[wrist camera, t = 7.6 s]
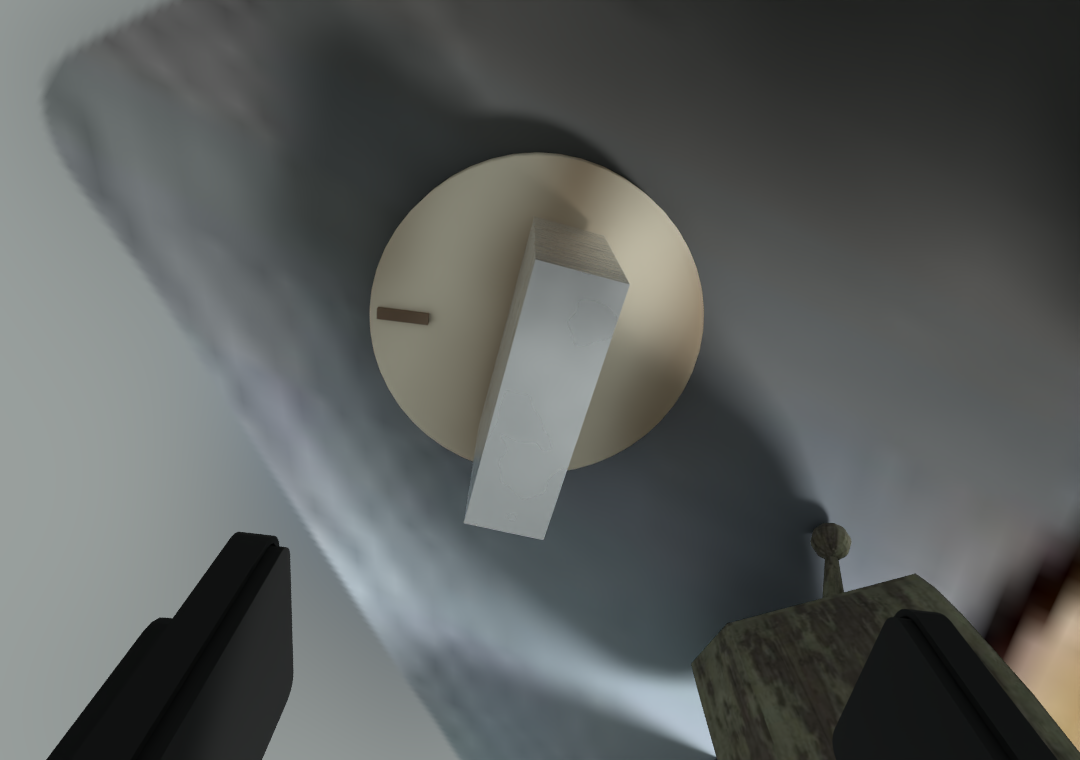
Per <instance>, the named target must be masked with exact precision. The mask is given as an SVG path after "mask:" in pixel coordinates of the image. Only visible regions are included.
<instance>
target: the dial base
mask: <svg viewBox="0 0 1080 760" xmlns="http://www.w3.org/2000/svg"><path fill="white" fill-rule="evenodd" d="M534 216H535V217H538V218H542V219H546V220H549V221H553V222H557V223H560V224H564V225H568V226H571V227H575V228H578V229H582V230H586V231H589V232H593V233H597V234H600V235H604V237H605V238H606V240H607V242H608V244H609V246H610V248H611V250H612V252H613V254H614V255H615V257H616V259H617V261H618V263H619V265H620V267H621V269H622V271H623V272H624V274H625V276H626V278H627V280H628V282H629V284H630V286H629V289H628V292H627V295H626V298H625V301H624V303H623V306H622V309H621V312H620V315H619V318H618V321H617V324H616V327H615V330H614V333H613V336H612V339H611V342H610V345H609V348H608V351H607V354H606V357H605V360H604V363H603V366H602V369H601V372H600V374H599V377H598V380H597V383H596V386H595V389H594V392H593V395H592V398H591V401H590V404H589V407H588V410H587V413H586V416H585V419H584V422H583V425H582V428H581V431H580V434H579V437H578V440H577V443H576V445H575V448H574V451H573V454H572V457H571V460H570V463H569V466H568V469H567V471H568V470H573V469H578V468H581V467H585V466H588V465H592V464H595V463H597V462H600V461H602V460H604V459H607V458H609V457H612V456H614V455H615V454H617V453H619V452H621V451H623V450H624V449H626V448H628V447H630V446H631V445H632V444H634V443H635V442H637V441H638V440H639V439H641V438H642V437H643V436H645V435H646V434H647V433H648V432H649V431H650V430H652V429H653V428H654V427H655V426H656V425H657V424H658V423H659V422H660V421H661V420H662V419H663V418H664V416H665V415H666V414H667V413H668V412H669V410H670V409H671V408H672V407H673V406H674V404H675V403H676V401H677V399H678V398H679V396H680V395H681V393H682V392H683V390H684V389H685V386H686V384H687V382H688V380H689V378H690V376H691V374H692V372H693V369H694V366H695V363H696V360H697V357H698V354H699V350H700V345H701V339H702V334H703V319H704V307H703V296H702V288H701V284H700V280H699V275H698V271H697V268H696V265H695V263H694V260H693V258H692V255H691V253H690V250H689V248H688V246H687V244H686V243H685V241H684V239H683V237H682V236H681V234H680V232H679V230H678V229H677V228H676V226H675V225H674V224H673V222H672V221H671V220H670V218H669V217H668V216H667V215H666V213H665V212H664V211H663V210H662V209H661V208H660V207H659V206H658V205H657V204H656V203H655V202H654V201H653V200H652V199H651V198H650V197H649V196H647V195H646V194H645V193H644V192H643V191H642V190H640V189H639V188H638V187H636V186H635V185H634V184H632V183H631V182H629V181H628V180H627V179H625V178H624V177H622V176H620V175H619V174H617V173H615V172H613V171H611V170H609V169H607V168H606V167H604V166H601V165H598V164H596V163H593V162H590V161H587V160H585V159H582V158H577V157H572V156H568V155H563V154H555V153H542V152H532V153H517V154H511V155H506V156H501V157H496V158H492V159H489V160H486V161H483V162H480V163H478V164H475V165H472V166H470V167H468V168H466V169H464V170H462V171H460V172H458V173H456V174H455V175H453V176H451V177H449V178H448V179H447V180H445V181H444V182H442V183H441V184H440V185H438V186H437V187H435V188H434V189H433V190H432V191H431V192H430V193H429V194H428V195H427V196H425V197H424V198H423V199H422V200H421V201H420V202H419V203H418V204H417V205H416V206H415V207H414V208H413V209H412V210H411V211H410V212H409V213H408V215H407V216H406V217H405V218H404V220H403V221H402V222H401V223H400V225H399V226H398V227H397V229H396V230H395V232H394V234H393V235H392V237H391V239H390V240H389V242H388V244H387V246H386V247H385V249H384V252H383V254H382V257H381V259H380V262H379V264H378V267H377V270H376V274H375V278H374V282H373V286H372V290H371V300H370V310H369V313H370V333H371V339H372V344H373V350H374V354H375V357H376V360H377V363H378V366H379V369H380V372H381V374H382V376H383V378H384V381H385V383H386V385H387V387H388V389H389V391H390V392H391V394H392V395H393V397H394V398H395V400H396V401H397V403H398V405H399V406H400V407H401V409H402V410H403V411H404V412H405V413H406V414H407V416H408V417H409V418H410V419H411V420H412V422H413V423H415V424H416V425H417V426H418V427H419V428H420V429H421V430H422V431H423V432H424V433H425V434H426V435H428V436H429V437H430V438H432V439H433V440H434V441H436V442H437V443H439V444H440V445H441V446H443V447H444V448H446V449H448V450H450V451H452V452H453V453H455V454H457V455H459V456H461V457H463V458H465V459H468V460H470V461H473V459H474V453H475V447H476V440H477V434H478V427H479V423H480V419H481V415H482V411H483V407H484V404H485V400H486V396H487V392H488V389H489V385H490V381H491V377H492V373H493V370H494V366H495V362H496V358H497V354H498V351H499V347H500V343H501V339H502V336H503V332H504V328H505V324H506V320H507V317H508V313H509V309H510V305H511V301H512V298H513V294H514V290H515V286H516V283H517V279H518V275H519V271H520V267H521V264H522V260H523V256H524V252H525V248H526V245H527V241H528V237H529V233H530V229H531V226H532V222H533V218H534Z"/></svg>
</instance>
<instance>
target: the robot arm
mask: <svg viewBox="0 0 1080 760" xmlns="http://www.w3.org/2000/svg"><path fill="white" fill-rule="evenodd" d="M292 681H293V644H292V608H291V573H290V551H289V549H288V548H286V547H279V541H278V539H277V537H276V536H271V535H262V534H253V533H245V532H237V533H235V534H234V535H233V536H232V537H231V538H230V539H229V541H228V542H227V544H226V545H225V546H224V548H223V549H222V551H221V552H220V553H219V555H218V556H217V558H216V559H215V560H214V562H213V563H212V565H211V566H210V567H209V569H208V570H207V572H206V573H205V574H204V576H203V577H202V578H201V580H200V581H199V583H198V584H197V585H196V587H195V588H194V590H193V591H192V592H191V594H190V595H189V597H188V598H187V599H186V601H185V602H184V603H183V605H182V606H181V608H180V609H179V610H178V612H177V613H176V615H175V616H174V617H173V618H158V619H156V620H155V621H153V622H152V623H151V624H150V625H149V626H148V627H147V628H146V629H145V630H144V631H143V632H142V634H141V635H140V636H139V638H138V639H137V640H136V642H135V643H134V644H133V646H132V647H131V648H130V650H129V651H128V652H127V654H126V655H125V656H124V658H123V659H122V660H121V662H120V663H119V664H118V666H117V667H116V668H115V670H114V671H113V672H112V674H111V675H110V676H109V677H108V679H107V680H106V682H105V683H104V684H103V685H102V687H101V688H100V689H99V691H98V692H97V693H96V695H95V696H94V697H93V699H92V700H91V701H90V703H89V704H88V705H87V707H86V708H85V709H84V711H83V712H82V713H81V714H80V716H79V717H78V718H77V720H76V721H75V722H74V724H73V725H72V726H71V728H70V729H69V730H68V732H67V733H66V734H65V736H64V737H63V738H62V740H61V741H60V742H59V744H58V745H57V746H56V748H55V749H54V750H53V752H52V753H51V754H50V756H49V757H48V758H47V759H46V760H262V758H263V756H264V754H265V751H266V749H267V746H268V744H269V742H270V740H271V737H272V735H273V733H274V730H275V728H276V726H277V723H278V721H279V719H280V716H281V714H282V712H283V709H284V707H285V705H286V702H287V700H288V697H289V694H290V691H291V687H292ZM832 744H833V751H834V755H835V758H836V760H1057V758H1056V757H1055V756H1054V754H1053V753H1052V752H1051V750H1050V749H1049V748H1048V747H1047V745H1046V744H1045V743H1044V741H1043V740H1042V739H1041V737H1040V736H1039V735H1038V734H1037V732H1036V731H1035V730H1034V728H1033V727H1032V726H1031V725H1030V723H1029V722H1028V721H1027V719H1026V718H1025V717H1024V715H1023V714H1022V713H1021V712H1020V710H1019V709H1018V708H1017V706H1016V705H1015V704H1014V702H1013V701H1012V700H1011V699H1010V697H1009V696H1008V695H1007V693H1006V692H1005V691H1004V690H1003V688H1002V687H1001V686H1000V684H999V683H998V682H997V680H996V679H995V678H994V677H993V675H992V674H991V673H990V671H989V670H988V669H987V667H986V666H985V665H984V664H983V662H982V661H981V660H980V658H979V657H978V656H977V654H976V653H975V652H974V651H973V649H972V648H971V647H970V645H969V644H968V643H967V642H966V640H965V639H964V638H963V636H962V635H961V634H960V632H959V631H958V630H957V629H956V627H955V626H954V625H953V623H952V622H951V621H950V620H949V619H948V618H947V617H946V616H945V615H943V614H941V613H938V612H929V611H920V610H912V609H901V610H899V611H898V612H897V613H896V614H895V616H894V617H890V618H888V619H887V620H886V621H885V623H884V625H883V627H882V629H881V631H880V633H879V635H878V637H877V640H876V642H875V644H874V646H873V648H872V650H871V652H870V655H869V657H868V659H867V661H866V663H865V665H864V667H863V669H862V672H861V674H860V676H859V678H858V680H857V682H856V684H855V686H854V689H853V691H852V693H851V695H850V697H849V699H848V701H847V704H846V706H845V708H844V710H843V712H842V714H841V716H840V718H839V721H838V723H837V725H836V727H835V729H834V732H833V738H832Z"/></svg>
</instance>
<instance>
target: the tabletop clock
mask: <svg viewBox="0 0 1080 760" xmlns="http://www.w3.org/2000/svg"><path fill="white" fill-rule="evenodd" d="M810 542H811V546H812V547H813V549H814V550H815V552H816V553H817V555H818V556H820V557H822V558H824V559H825V567H824V583H823V598H822V599H818V600H814V601H810V602H806V603H803V604H799V605H795V606H791V607H788V608H784V609H780V610H776V611H772V612H769V613H765V614H761V615H757V616H754V617H750V618H746V619H742V620H738V621H735V622H731V623H727V624H726V625H725V626H724V628H723V629H722V630H721V631H720V632H719V633H718V634H717V635H716V636H715V638H714V639H713V640H712V641H711V642H710V643H709V644H708V645H707V647H706V648H705V649H704V650H703V651H702V652H701V653H700V654H699V655H698V657H697V658H696V659H695V660H694V661H693V662H692V663H691V666H692V670H693V674H694V678H695V681H696V685H697V689H698V692H699V696H700V700H701V703H702V707H703V711H704V714H705V718H706V721H707V725H708V728H709V732H710V736H711V739H712V743H713V746H714V750H715V753H716V757H717V760H836V758H835V755H834V751H833V744H832V738H833V732H834V729H835V727H836V725H837V723H838V721H839V718H840V716H841V714H842V712H843V710H844V708H845V706H846V704H847V701H848V699H849V697H850V695H851V693H852V691H853V689H854V686H855V684H856V682H857V680H858V678H859V676H860V674H861V672H862V669H863V667H864V665H865V663H866V661H867V659H868V657H869V655H870V652H871V650H872V648H873V646H874V644H875V642H876V640H877V637H878V635H879V633H880V631H881V629H882V627H883V625H884V623H885V621H886V620H887V619H888V618H890V617H894V616H895V614H896V613H897V612H898V611H899V610H901V609H912V610H920V611H929V612H938V613H941V614H943V615H945V616H946V617H947V618H948V619H949V620H950V621H951V622H952V623H953V625H954V626H955V627H956V629H957V630H958V631H959V632H960V634H961V635H962V636H963V638H964V639H965V640H966V642H967V643H968V644H969V645H970V647H971V648H972V649H973V651H974V652H975V653H976V654H977V656H978V657H979V658H980V660H981V661H982V662H983V664H984V665H985V666H986V667H987V669H988V670H989V671H990V673H991V674H992V675H993V677H994V678H995V679H996V680H997V682H998V683H999V684H1000V686H1001V687H1002V688H1003V690H1004V691H1005V692H1006V693H1007V695H1008V696H1009V697H1010V699H1011V700H1012V701H1013V702H1014V704H1015V705H1016V706H1017V708H1018V709H1019V710H1020V712H1021V713H1022V714H1023V715H1024V717H1025V718H1026V719H1027V721H1028V722H1029V723H1030V725H1031V726H1032V727H1033V728H1034V730H1035V731H1036V732H1037V734H1038V735H1039V736H1040V737H1041V739H1042V740H1043V741H1044V743H1045V744H1046V745H1047V747H1048V748H1049V749H1050V750H1051V752H1052V753H1053V754H1054V756H1055V757H1056V758H1057V760H1080V752H1079V751H1078V750H1077V749H1076V747H1075V746H1074V745H1073V744H1072V742H1071V741H1070V740H1069V739H1068V737H1067V736H1066V735H1065V733H1064V732H1063V731H1062V730H1061V728H1060V727H1059V726H1058V725H1057V723H1056V722H1055V721H1054V720H1053V718H1052V717H1051V716H1050V715H1049V713H1048V712H1047V711H1046V710H1045V708H1044V707H1043V706H1042V705H1041V703H1040V702H1039V701H1038V700H1037V698H1036V697H1035V696H1034V695H1033V693H1032V692H1031V691H1030V690H1029V689H1028V688H1027V687H1026V685H1025V684H1024V683H1023V682H1022V681H1021V680H1020V679H1019V678H1018V676H1017V675H1016V674H1015V673H1014V672H1013V671H1012V670H1011V669H1010V667H1009V666H1008V665H1007V664H1006V663H1005V662H1004V661H1003V660H1002V658H1001V657H1000V656H999V655H998V654H997V653H996V652H995V651H994V650H993V648H992V647H991V646H990V645H989V644H988V643H987V642H986V641H985V639H984V638H983V637H982V636H981V635H980V634H979V633H978V632H977V630H976V629H975V628H974V627H973V626H972V625H971V624H970V623H969V621H968V620H967V619H966V618H965V617H964V616H963V615H962V614H961V613H960V612H959V611H958V610H957V609H956V608H955V607H954V606H953V605H952V604H951V603H950V602H949V601H948V600H947V599H946V598H945V597H944V596H943V595H942V594H941V593H940V592H939V591H938V590H937V589H936V588H935V587H933V586H932V585H931V584H929V583H928V582H927V581H925V580H924V579H922V578H921V577H920V576H918V575H917V574H912V575H908V576H905V577H901V578H897V579H893V580H890V581H886V582H882V583H878V584H874V585H871V586H867V587H863V588H859V589H856V590H852V591H848V592H844V590H843V584H842V578H841V572H840V567H839V561H838V560H840V559H842V558H843V557H845V556H846V555H847V554H848V552H849V549H850V545H851V539H850V537H849V535H848V533H847V532H846V530H845V529H844V528H843V527H841V526H839V525H837V524H835V523H823V524H821V525H819V526H818V527H816V528H815V529H814V530H813V533H812V537H811V541H810Z"/></svg>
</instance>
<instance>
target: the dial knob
mask: <svg viewBox="0 0 1080 760" xmlns="http://www.w3.org/2000/svg"><path fill="white" fill-rule="evenodd" d="M629 286H630V284H629V282H628V280H627V278H626V276H625V274H624V272H623V271H622V269H621V267H620V265H619V263H618V261H617V259H616V257H615V255H614V254H613V252H612V250H611V248H610V246H609V244H608V242H607V240H606V238H605V237H604V235H600V234H597V233H593V232H589V231H586V230H582V229H578V228H575V227H571V226H568V225H564V224H560V223H557V222H553V221H549V220H546V219H542V218H538V217H535V216H534V218H533V222H532V226H531V229H530V233H529V237H528V241H527V245H526V248H525V252H524V256H523V260H522V264H521V267H520V271H519V275H518V279H517V283H516V286H515V290H514V294H513V298H512V301H511V305H510V309H509V313H508V317H507V320H506V324H505V328H504V332H503V336H502V339H501V343H500V347H499V351H498V354H497V358H496V362H495V366H494V370H493V373H492V377H491V381H490V385H489V389H488V392H487V396H486V400H485V404H484V407H483V411H482V415H481V419H480V423H479V427H478V434H477V440H476V447H475V453H474V459H473V466H472V472H471V479H470V485H469V492H468V498H467V505H466V511H465V518H464V523H465V524H469V525H474V526H479V527H483V528H488V529H493V530H498V531H502V532H507V533H512V534H516V535H521V536H526V537H531V538H535V539H540V540H544V537H545V534H546V531H547V528H548V525H549V522H550V519H551V516H552V514H553V511H554V508H555V505H556V502H557V499H558V496H559V493H560V490H561V487H562V484H563V481H564V478H565V475H566V472H567V469H568V466H569V463H570V460H571V457H572V454H573V451H574V448H575V445H576V443H577V440H578V437H579V434H580V431H581V428H582V425H583V422H584V419H585V416H586V413H587V410H588V407H589V404H590V401H591V398H592V395H593V392H594V389H595V386H596V383H597V380H598V377H599V374H600V372H601V369H602V366H603V363H604V360H605V357H606V354H607V351H608V348H609V345H610V342H611V339H612V336H613V333H614V330H615V327H616V324H617V321H618V318H619V315H620V312H621V309H622V306H623V303H624V301H625V298H626V295H627V292H628V289H629Z"/></svg>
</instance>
